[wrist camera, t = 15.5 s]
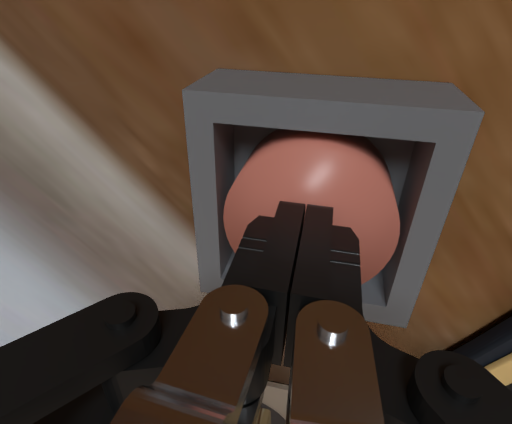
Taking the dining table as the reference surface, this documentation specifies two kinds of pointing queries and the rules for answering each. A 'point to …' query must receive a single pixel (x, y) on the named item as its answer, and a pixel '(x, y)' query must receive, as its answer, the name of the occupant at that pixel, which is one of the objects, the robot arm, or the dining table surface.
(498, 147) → the dining table surface
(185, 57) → the dining table surface
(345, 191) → the button
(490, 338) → the wallet
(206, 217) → the button housing
